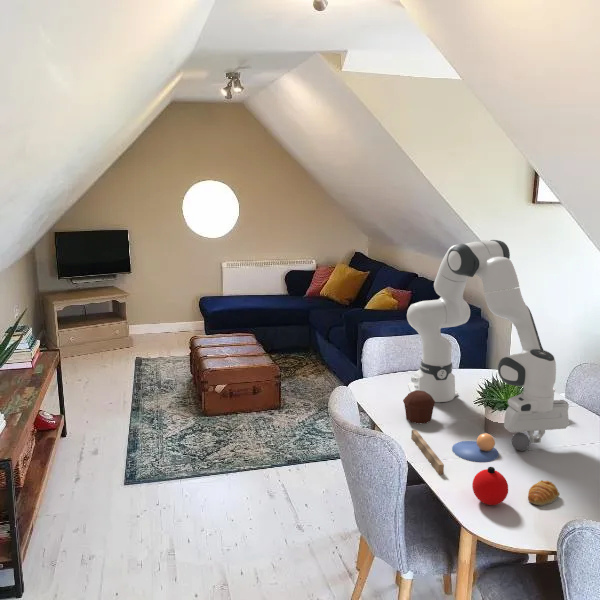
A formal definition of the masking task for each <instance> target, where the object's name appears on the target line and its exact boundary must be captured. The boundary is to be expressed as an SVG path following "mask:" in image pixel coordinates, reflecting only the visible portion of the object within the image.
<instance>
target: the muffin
mask: <svg viewBox="0 0 600 600" xmlns="http://www.w3.org/2000/svg"><path fill="white" fill-rule="evenodd" d="M402 402H403V405H404V411H405V418H406V419H405V420H407V421H409V422H410V423H413V424H417V423H418V424H417V425H420V423H422V424H427V422H428V423H430V422H431V421H432V417H433V412H434V407H435V405H436V402H435V401H434V399H433V398H432V396H431V395H430V394H428V393H426V392H425V391H419V390H418V391H413V392H411V393H410V392H409V393H408V394H407V395H406V396H405V397H404V398H403V399H402Z"/></svg>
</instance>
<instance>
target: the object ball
mask: <svg viewBox="0 0 600 600" xmlns="http://www.w3.org/2000/svg"><path fill="white" fill-rule="evenodd" d="M476 441H477V445H478V447H479V448H480V449H481V450H483V451H490V450H492V449H493V448H495V446H496V441H495V438H494V437H493V436H492V434H489V433H487V432H485V433H481V434H479V435H478V437H477V439H476Z"/></svg>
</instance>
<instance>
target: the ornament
mask: <svg viewBox="0 0 600 600" xmlns="http://www.w3.org/2000/svg"><path fill="white" fill-rule="evenodd" d="M471 487H472V491H473V494H474V496H475V497H476V499H477V500H478V501H480V502H481V503H483V504H485V505H488V506H497V505H499V504H501V503H503V502H505V500H506V499H507V496H508V494H509V485H508V481H507V479H506V477H505V476H504V475H503V474H502V473H501V472H499V471H497V470H496V469H495V467H494V466H488V467H487V468H486V469H482V470H481V471H479V472H477V474H476V475H475V476H474V477H473V480H472V486H471Z"/></svg>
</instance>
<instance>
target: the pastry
mask: <svg viewBox="0 0 600 600" xmlns="http://www.w3.org/2000/svg"><path fill="white" fill-rule="evenodd" d="M559 496H560V492H559V490H558V488H557V487H556V485H555V484H554V483H553V482H552V481H549V480H543V479H542V480H539V481H537V482H536V483H534V484H533V485H532V486H531V487H530V488H529V490H528V495H527V500H528V502H529V503H530V504H533V505H536V506H539V507H543V506H545V505H551V504H552V503H553V502H554V501H557V499H558V498H559Z"/></svg>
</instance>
